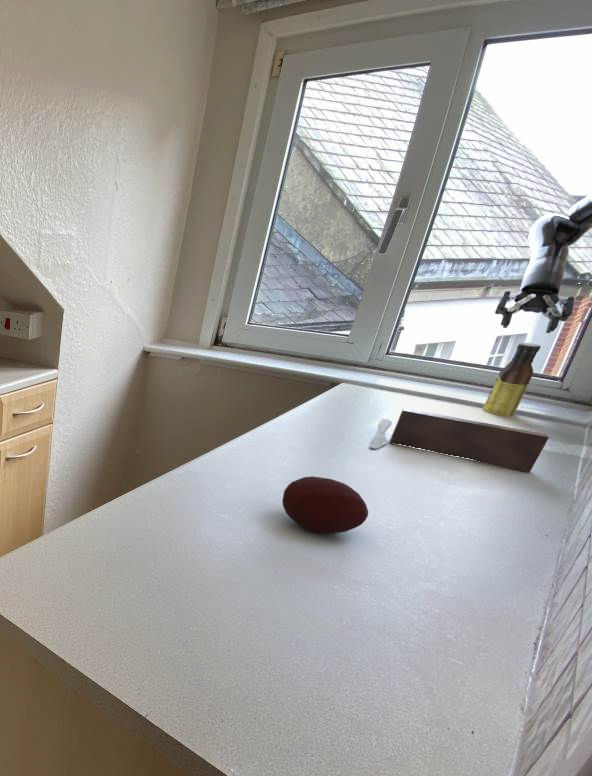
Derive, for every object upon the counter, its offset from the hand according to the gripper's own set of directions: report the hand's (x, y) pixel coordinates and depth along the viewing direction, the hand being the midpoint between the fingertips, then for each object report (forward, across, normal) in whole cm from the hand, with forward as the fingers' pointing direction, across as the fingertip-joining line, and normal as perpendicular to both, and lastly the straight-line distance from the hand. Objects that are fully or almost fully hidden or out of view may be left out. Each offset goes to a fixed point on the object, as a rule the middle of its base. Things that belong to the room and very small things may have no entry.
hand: (527, 328), depth 144 cm
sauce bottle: (+24, 0, +8) cm, 25 cm away
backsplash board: (+53, -10, -22) cm, 58 cm away
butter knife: (+49, -24, -19) cm, 58 cm away
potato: (+93, -32, -63) cm, 117 cm away
